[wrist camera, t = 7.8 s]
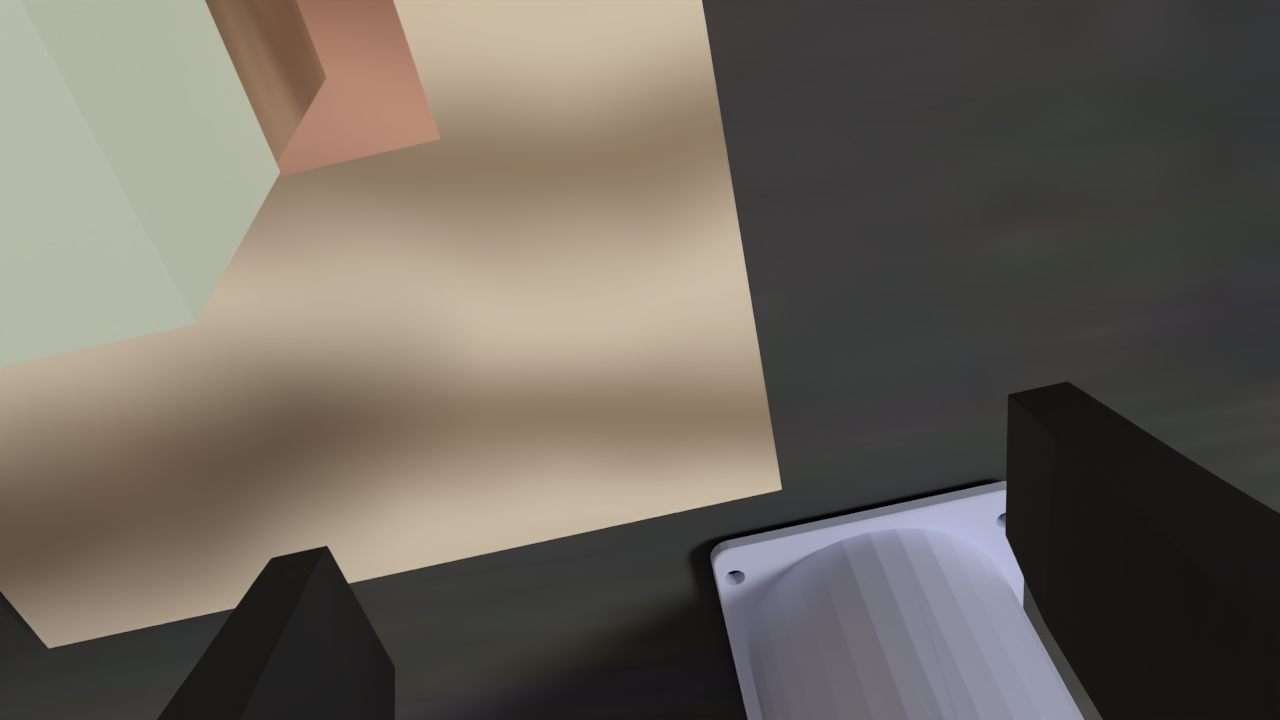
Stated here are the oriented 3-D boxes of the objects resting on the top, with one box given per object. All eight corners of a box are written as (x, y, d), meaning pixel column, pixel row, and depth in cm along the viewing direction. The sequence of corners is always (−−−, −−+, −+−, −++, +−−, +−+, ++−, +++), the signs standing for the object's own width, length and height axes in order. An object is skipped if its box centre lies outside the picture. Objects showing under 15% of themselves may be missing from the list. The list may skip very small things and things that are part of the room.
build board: (773, 462, 24) (782, 491, 23) (65, 616, 24) (47, 650, 23) (577, -707, 12) (580, -740, 12) (-721, -363, 13) (-810, -369, 12)
